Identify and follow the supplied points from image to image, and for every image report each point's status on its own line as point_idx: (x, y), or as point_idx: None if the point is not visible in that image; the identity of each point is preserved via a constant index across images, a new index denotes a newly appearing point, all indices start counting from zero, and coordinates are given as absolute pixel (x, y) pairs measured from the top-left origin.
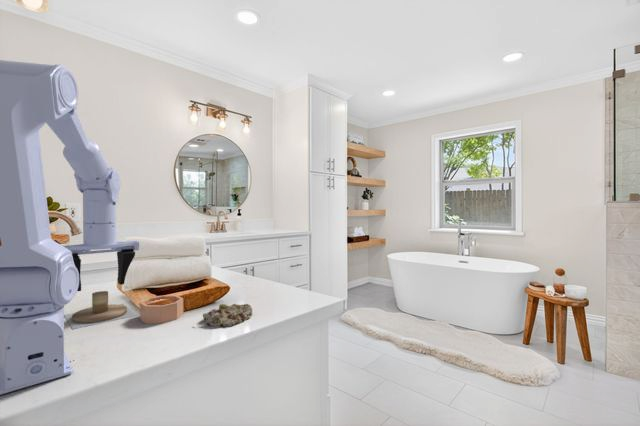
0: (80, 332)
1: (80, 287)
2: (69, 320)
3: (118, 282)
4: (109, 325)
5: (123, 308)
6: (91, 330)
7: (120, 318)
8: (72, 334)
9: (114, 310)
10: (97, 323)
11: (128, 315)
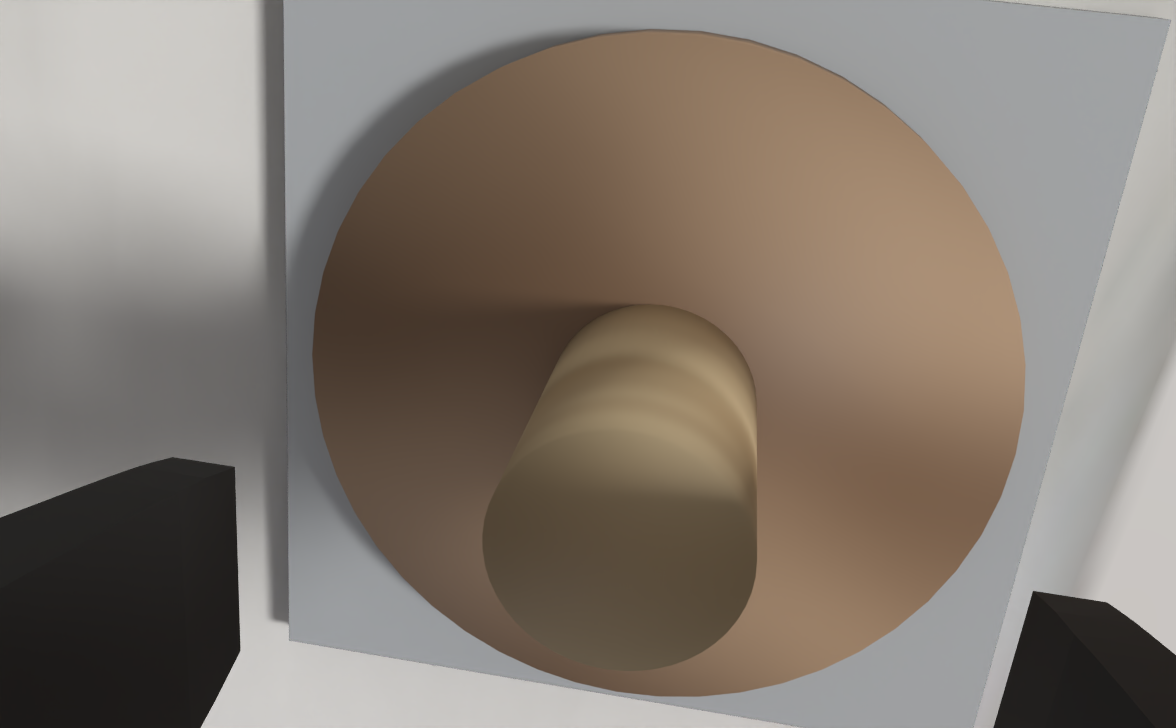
0: (357, 691)
1: (192, 717)
2: (309, 288)
3: (1027, 644)
4: (627, 725)
5: (932, 529)
6: (449, 720)
7: (770, 710)
8: (290, 684)
9: (804, 515)
10: (523, 672)
11: (889, 685)
